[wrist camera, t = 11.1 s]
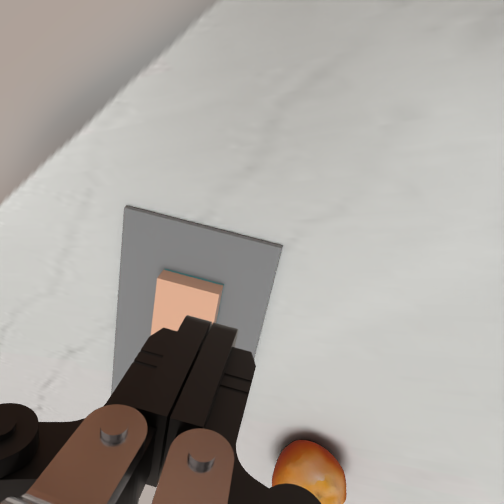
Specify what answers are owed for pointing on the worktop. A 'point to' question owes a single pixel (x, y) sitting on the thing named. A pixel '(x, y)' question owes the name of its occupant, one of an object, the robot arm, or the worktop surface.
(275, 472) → the fruit
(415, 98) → the worktop surface
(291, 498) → the robot arm
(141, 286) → the mat
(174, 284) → the tile
